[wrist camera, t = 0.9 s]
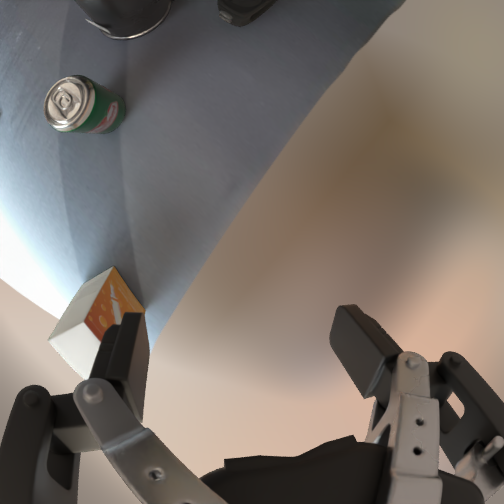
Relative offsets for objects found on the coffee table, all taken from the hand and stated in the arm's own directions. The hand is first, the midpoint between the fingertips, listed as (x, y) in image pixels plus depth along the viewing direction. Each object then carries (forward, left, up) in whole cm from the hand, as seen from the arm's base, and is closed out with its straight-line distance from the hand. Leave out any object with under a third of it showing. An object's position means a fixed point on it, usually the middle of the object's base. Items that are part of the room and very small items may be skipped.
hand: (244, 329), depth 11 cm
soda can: (0, -17, -25) cm, 30 cm away
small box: (+19, -2, -25) cm, 31 cm away
